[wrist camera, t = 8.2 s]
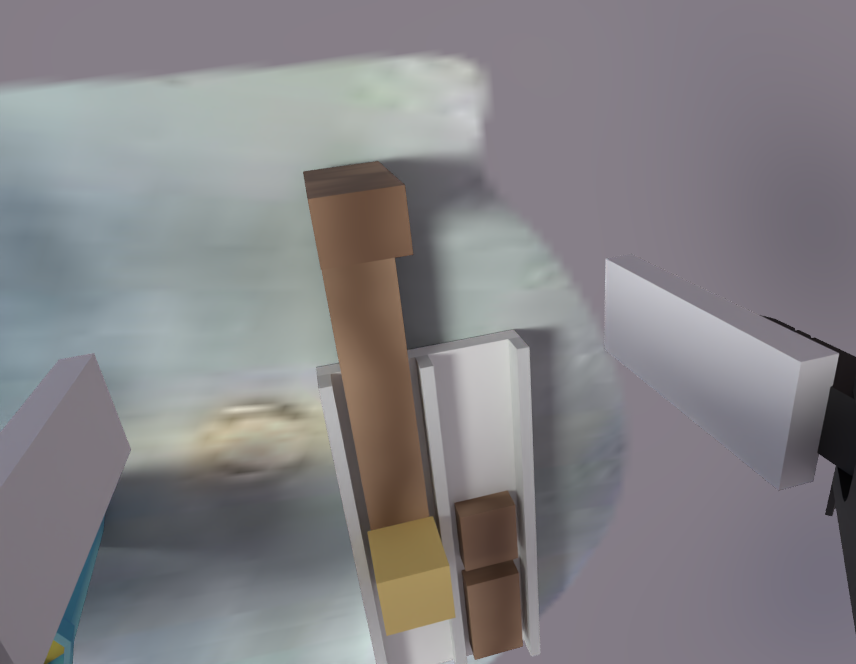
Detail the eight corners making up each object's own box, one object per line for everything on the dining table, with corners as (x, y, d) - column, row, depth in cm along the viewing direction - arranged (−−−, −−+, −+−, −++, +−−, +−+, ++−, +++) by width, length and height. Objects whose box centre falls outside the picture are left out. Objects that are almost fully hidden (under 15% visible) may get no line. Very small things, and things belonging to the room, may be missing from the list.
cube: (376, 580, 41) (386, 636, 37) (367, 531, 39) (376, 583, 35) (439, 565, 41) (455, 617, 37) (432, 516, 39) (449, 565, 35)
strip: (381, 585, 43) (400, 686, 36) (303, 171, 31) (307, 199, 23) (434, 572, 44) (462, 668, 36) (378, 161, 31) (404, 185, 24)
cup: (165, 588, 40) (105, 840, 27) (46, 619, 39) (-78, 899, 26) (89, 420, 35) (-36, 636, 21) (-53, 451, 33) (-280, 700, 20)
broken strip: (469, 642, 47) (475, 659, 46) (454, 502, 41) (460, 517, 40) (515, 629, 48) (522, 646, 47) (507, 490, 42) (515, 504, 41)
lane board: (378, 666, 48) (383, 698, 46) (316, 367, 36) (318, 388, 34) (527, 625, 50) (540, 654, 48) (513, 329, 38) (529, 346, 36)
